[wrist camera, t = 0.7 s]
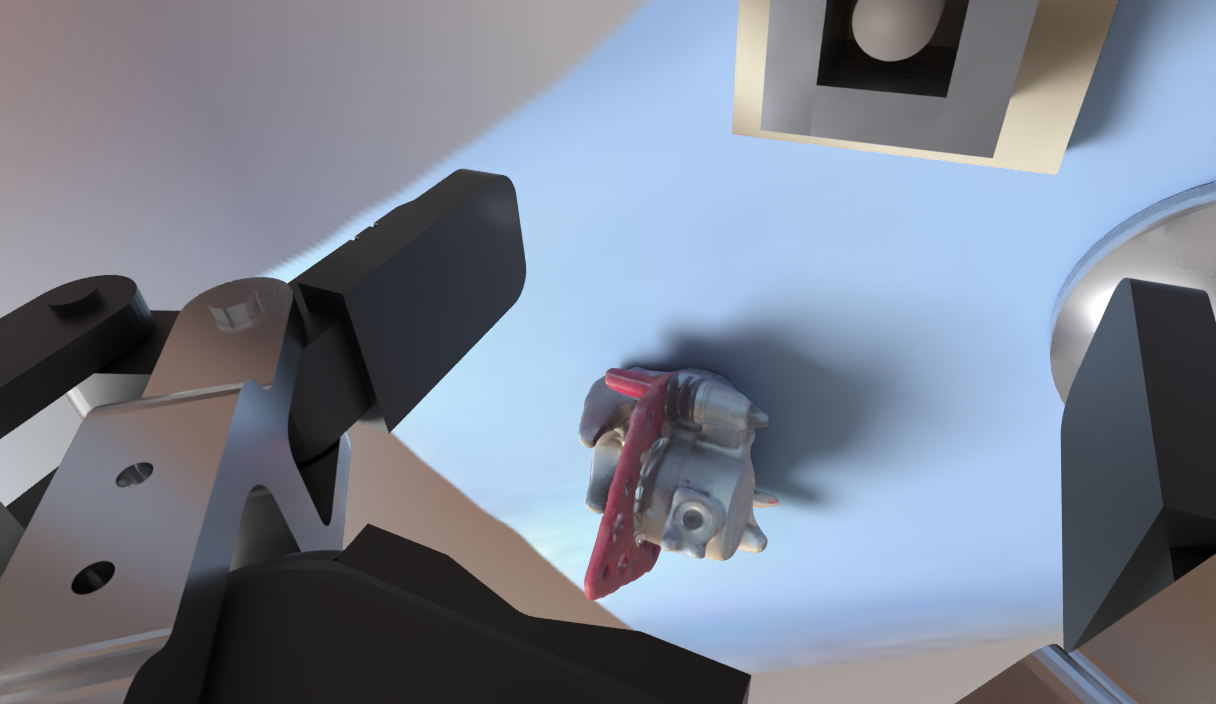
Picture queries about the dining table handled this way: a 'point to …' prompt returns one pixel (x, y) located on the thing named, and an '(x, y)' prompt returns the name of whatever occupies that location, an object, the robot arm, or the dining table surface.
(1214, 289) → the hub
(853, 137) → the square socket block
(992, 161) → the stand
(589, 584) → the brake caliper
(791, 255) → the dining table surface
